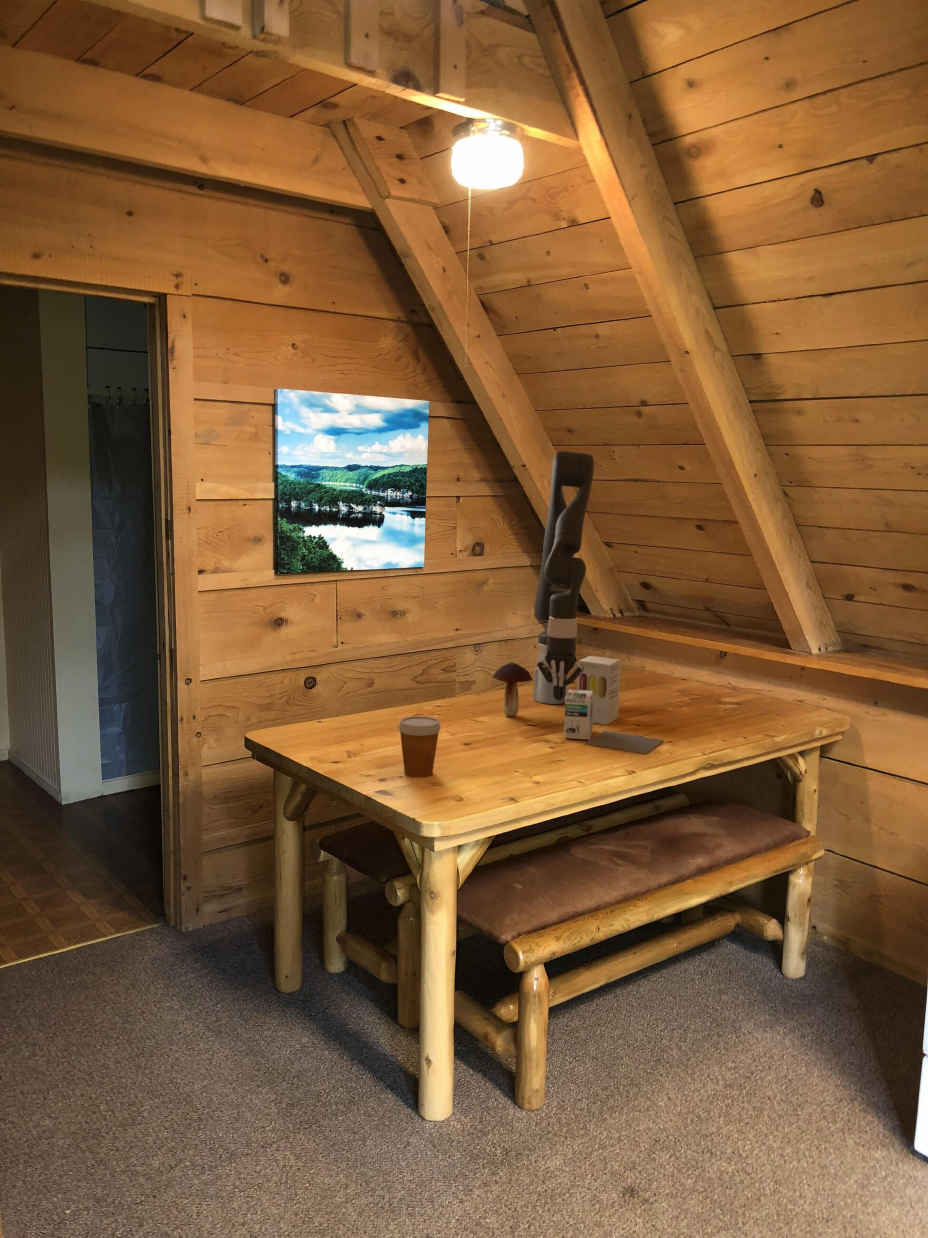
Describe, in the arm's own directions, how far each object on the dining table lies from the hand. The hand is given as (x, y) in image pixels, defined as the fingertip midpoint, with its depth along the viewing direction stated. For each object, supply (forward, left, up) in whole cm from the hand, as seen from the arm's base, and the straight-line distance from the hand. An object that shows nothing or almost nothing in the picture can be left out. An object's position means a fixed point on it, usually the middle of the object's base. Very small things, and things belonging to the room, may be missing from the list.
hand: (558, 699), depth 259 cm
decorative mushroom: (-17, +7, -9) cm, 20 cm away
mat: (+19, 0, -9) cm, 20 cm away
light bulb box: (+6, 0, -9) cm, 10 cm away
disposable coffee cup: (-12, -50, -9) cm, 52 cm away
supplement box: (+4, +18, -9) cm, 20 cm away
